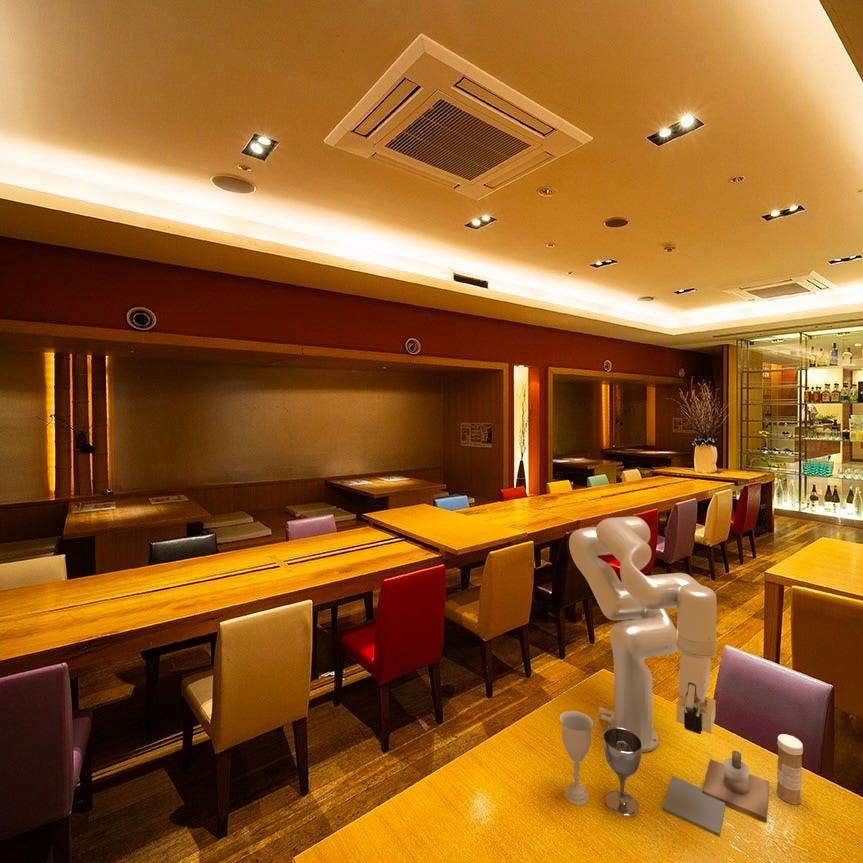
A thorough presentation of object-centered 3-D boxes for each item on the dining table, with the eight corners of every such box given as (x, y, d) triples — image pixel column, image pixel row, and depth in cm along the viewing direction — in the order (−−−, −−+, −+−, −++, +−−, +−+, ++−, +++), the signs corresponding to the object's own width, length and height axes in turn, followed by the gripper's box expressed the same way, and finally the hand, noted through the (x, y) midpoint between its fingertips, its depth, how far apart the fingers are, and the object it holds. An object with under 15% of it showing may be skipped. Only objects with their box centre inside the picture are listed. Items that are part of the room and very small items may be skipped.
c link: (676, 721, 104) (676, 704, 104) (682, 706, 109) (682, 689, 109) (710, 733, 100) (711, 715, 100) (715, 717, 105) (715, 699, 105)
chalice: (558, 803, 107) (558, 726, 106) (561, 780, 113) (561, 708, 112) (593, 812, 104) (592, 733, 103) (593, 788, 111) (593, 714, 110)
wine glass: (595, 796, 109) (595, 733, 108) (622, 784, 112) (622, 723, 111) (622, 824, 101) (622, 757, 101) (649, 810, 105) (650, 745, 104)
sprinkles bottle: (777, 785, 111) (779, 730, 110) (802, 796, 108) (804, 739, 107) (774, 797, 107) (776, 740, 107) (800, 809, 104) (801, 750, 103)
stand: (702, 795, 108) (702, 757, 108) (709, 763, 118) (710, 728, 117) (766, 822, 101) (767, 782, 100) (769, 786, 110) (769, 749, 110)
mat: (662, 809, 105) (662, 807, 105) (672, 778, 113) (672, 775, 113) (719, 836, 98) (719, 833, 98) (726, 800, 107) (726, 798, 107)
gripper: (684, 623, 113) (684, 696, 114) (668, 654, 99) (668, 737, 100) (721, 632, 108) (720, 708, 109) (710, 666, 94) (709, 752, 95)
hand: (695, 721), depth 105 cm, fingers closed on c link, 6 cm apart
